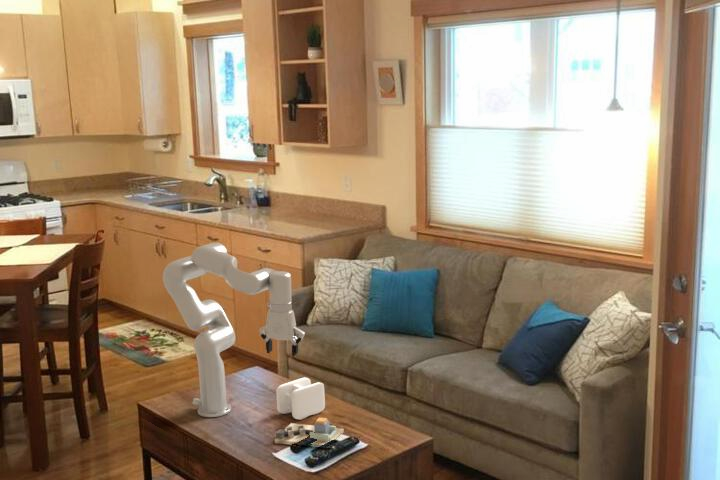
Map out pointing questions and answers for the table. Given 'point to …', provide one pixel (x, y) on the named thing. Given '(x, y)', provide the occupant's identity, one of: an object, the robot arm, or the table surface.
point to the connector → (322, 426)
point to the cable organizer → (300, 398)
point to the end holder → (324, 436)
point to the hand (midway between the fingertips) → (282, 353)
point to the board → (309, 427)
